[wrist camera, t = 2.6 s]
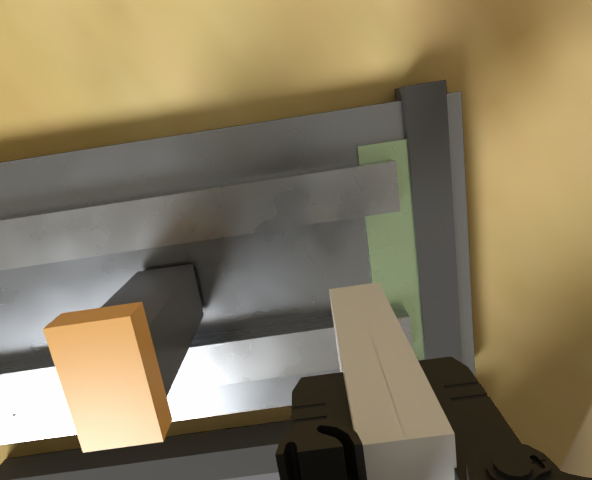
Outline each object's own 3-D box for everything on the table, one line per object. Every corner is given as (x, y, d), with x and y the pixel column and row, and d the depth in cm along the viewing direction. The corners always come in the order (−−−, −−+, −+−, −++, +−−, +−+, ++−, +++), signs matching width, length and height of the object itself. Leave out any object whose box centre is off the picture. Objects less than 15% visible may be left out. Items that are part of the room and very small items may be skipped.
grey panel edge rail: (420, 381, 22) (430, 401, 21) (395, 89, 18) (404, 86, 17) (452, 377, 22) (464, 396, 20) (432, 83, 18) (445, 80, 17)
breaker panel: (-43, 436, 23) (-78, 468, 20) (-146, 185, 19) (-200, 193, 17) (465, 366, 22) (484, 393, 20) (450, 93, 19) (470, 89, 16)
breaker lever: (154, 339, 20) (82, 452, 13) (132, 253, 19) (42, 328, 12) (207, 331, 20) (163, 441, 13) (188, 245, 19) (130, 316, 12)
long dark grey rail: (23, 505, 24) (4, 531, 22) (5, 458, 23) (-16, 483, 21) (470, 446, 23) (482, 469, 22) (467, 396, 22) (480, 416, 21)
